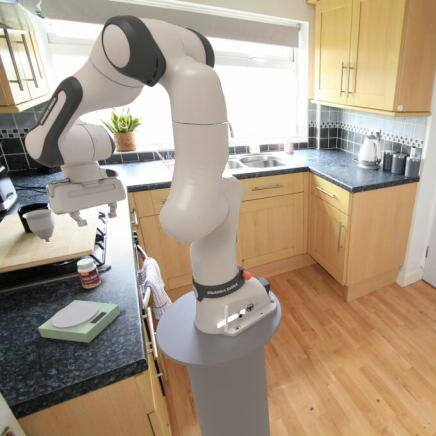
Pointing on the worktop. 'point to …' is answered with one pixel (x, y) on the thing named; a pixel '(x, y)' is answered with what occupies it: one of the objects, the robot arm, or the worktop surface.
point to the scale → (80, 321)
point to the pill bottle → (88, 273)
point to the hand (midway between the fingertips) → (98, 221)
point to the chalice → (40, 223)
